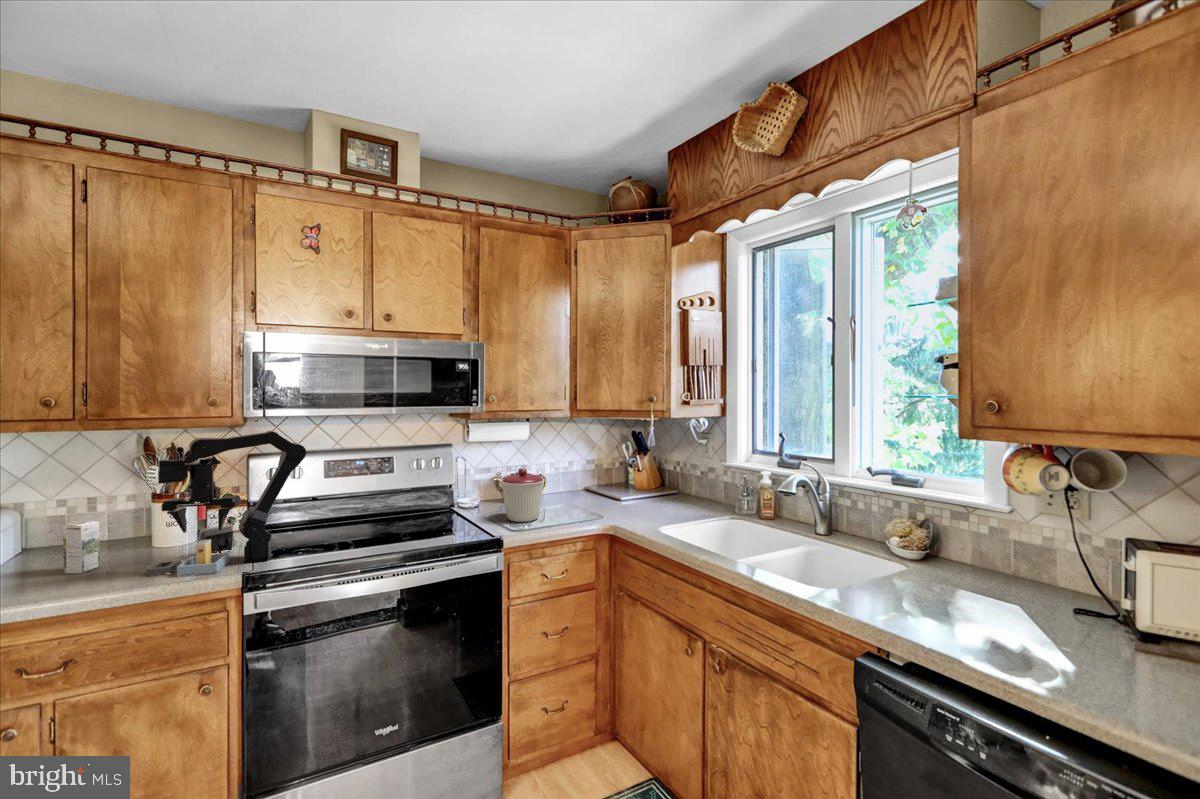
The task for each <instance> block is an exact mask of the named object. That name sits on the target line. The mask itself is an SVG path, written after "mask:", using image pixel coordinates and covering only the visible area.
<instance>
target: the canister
mask: <svg viewBox="0 0 1200 799" xmlns="http://www.w3.org/2000/svg"><path fill="white" fill-rule="evenodd" d="M517 472H518V473H517V474H509V475H506V476H505V477H503V478H501V480H500V483H501V484H502V485H501V486H502V492H503V501H504V508H505V515H506V517H507V519H508V520H509V521H511V522H515V523H516V522H517V523H529V522H533V521H536V520H537V519H538V518H539V516H540V513H541V506H542V500H543V498H542V497H543V488H544V487H543V486H544V482H545V481H546V480H545V478H543V477H542V476H541V475H538V474H534V473H533V474H530V473H528V470H527V469H526V468H520V469H519V470H518V471H517Z"/></svg>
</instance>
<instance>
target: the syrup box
mask: <svg viewBox="0 0 1200 799" xmlns="http://www.w3.org/2000/svg"><path fill="white" fill-rule="evenodd" d="M62 528H63V529H62V536H63V538H62V539H63V573H64V574H84V573H87V572H90V571H92V570H96V569H98V568H100V560H101V559H100V521H97V520H82V521H81V520H80V521H77V522H74V523H73V522H72V523H70V524H66V525H63V527H62ZM95 568H96V569H95Z"/></svg>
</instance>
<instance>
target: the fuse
mask: <svg viewBox="0 0 1200 799" xmlns="http://www.w3.org/2000/svg"><path fill="white" fill-rule="evenodd" d="M195 556H196V565H197V564H209V563H211V539H210V540H201V541H199V540H198V542H196V543H195Z"/></svg>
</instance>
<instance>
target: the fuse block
mask: <svg viewBox="0 0 1200 799" xmlns="http://www.w3.org/2000/svg"><path fill="white" fill-rule="evenodd" d="M180 564H182V560H181V559H177V560H165V561H156V562H155V563H153V564H152V565H151V566H149V567H148V568H146V569H145V571H146V572H145V574H146V577H151V576H150V575H154V576H159V575H158V574H166V573H171V572H173V571H174V570H176V569H177V566H179V565H180ZM176 571H177V570H176ZM174 572H175V571H174ZM174 572H173V573H174ZM171 574H172V573H171ZM166 575H167V574H166Z"/></svg>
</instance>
